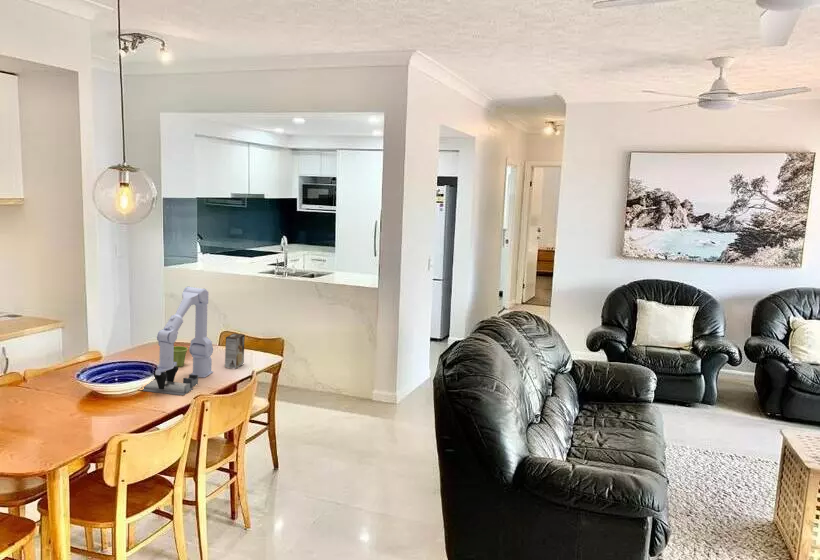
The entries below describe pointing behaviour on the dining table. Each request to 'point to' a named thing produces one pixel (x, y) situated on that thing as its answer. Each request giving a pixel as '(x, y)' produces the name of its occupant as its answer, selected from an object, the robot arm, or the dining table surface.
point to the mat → (165, 391)
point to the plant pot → (179, 355)
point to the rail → (170, 386)
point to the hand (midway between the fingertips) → (165, 386)
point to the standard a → (191, 380)
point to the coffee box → (234, 350)
